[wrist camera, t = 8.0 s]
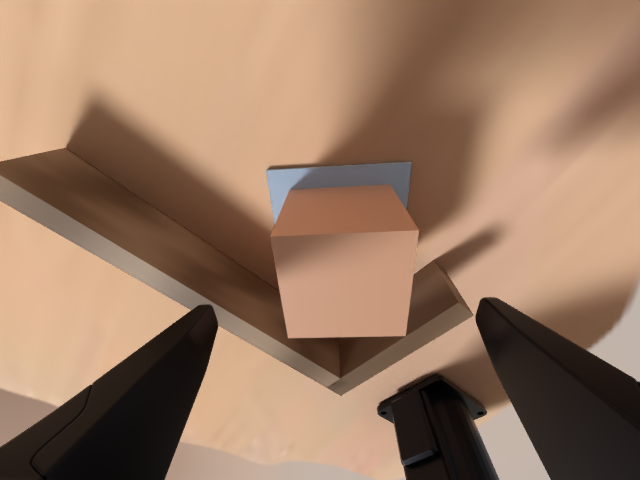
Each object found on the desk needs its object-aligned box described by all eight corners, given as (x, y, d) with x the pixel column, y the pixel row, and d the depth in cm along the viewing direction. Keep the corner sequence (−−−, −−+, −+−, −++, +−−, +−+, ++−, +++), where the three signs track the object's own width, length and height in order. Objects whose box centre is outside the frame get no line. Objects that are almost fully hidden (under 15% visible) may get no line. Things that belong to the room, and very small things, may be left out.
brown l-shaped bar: (446, 272, 16) (473, 315, 13) (339, 347, 19) (340, 395, 16) (126, -18, 10) (37, -67, 7) (58, 166, 14) (-22, 188, 10)
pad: (410, 161, 13) (411, 162, 13) (399, 278, 16) (399, 280, 16) (266, 169, 13) (266, 170, 13) (284, 281, 17) (284, 283, 16)
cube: (384, 267, 16) (405, 335, 11) (299, 270, 16) (288, 338, 12) (389, 184, 13) (419, 229, 9) (289, 189, 13) (269, 236, 9)
